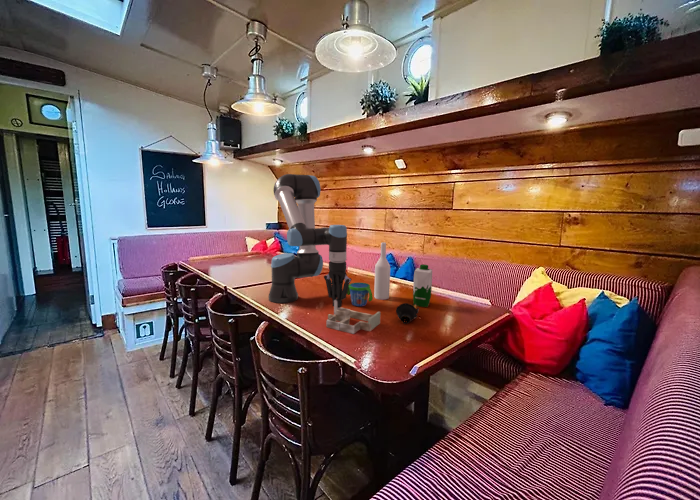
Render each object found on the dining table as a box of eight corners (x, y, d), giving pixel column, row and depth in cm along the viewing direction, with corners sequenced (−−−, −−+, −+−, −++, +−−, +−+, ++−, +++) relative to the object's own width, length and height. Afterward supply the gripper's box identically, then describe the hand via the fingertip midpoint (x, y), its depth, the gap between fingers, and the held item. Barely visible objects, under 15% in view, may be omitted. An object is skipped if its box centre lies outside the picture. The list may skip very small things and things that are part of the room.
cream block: (335, 320, 133) (335, 310, 133) (341, 317, 137) (341, 307, 137) (344, 322, 131) (344, 312, 131) (349, 319, 135) (350, 309, 134)
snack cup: (341, 302, 158) (341, 283, 156) (356, 298, 164) (357, 280, 163) (361, 310, 146) (361, 290, 144) (377, 306, 152) (378, 286, 151)
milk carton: (431, 303, 159) (433, 265, 156) (429, 308, 151) (431, 268, 148) (414, 300, 163) (416, 263, 160) (411, 305, 154) (413, 266, 151)
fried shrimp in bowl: (391, 314, 129) (395, 290, 145) (401, 334, 133) (404, 308, 148) (412, 309, 126) (414, 285, 141) (422, 329, 129) (422, 303, 145)
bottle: (378, 294, 173) (380, 241, 168) (391, 297, 168) (393, 242, 164) (371, 297, 166) (373, 242, 162) (384, 300, 162) (386, 244, 157)
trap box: (320, 325, 127) (320, 314, 127) (339, 314, 141) (340, 303, 140) (363, 336, 118) (364, 324, 117) (380, 323, 131) (380, 311, 131)
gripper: (320, 260, 132) (319, 313, 135) (346, 264, 125) (345, 319, 129) (329, 258, 138) (329, 308, 142) (355, 261, 132) (354, 314, 135)
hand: (337, 313), depth 135 cm, fingers closed
